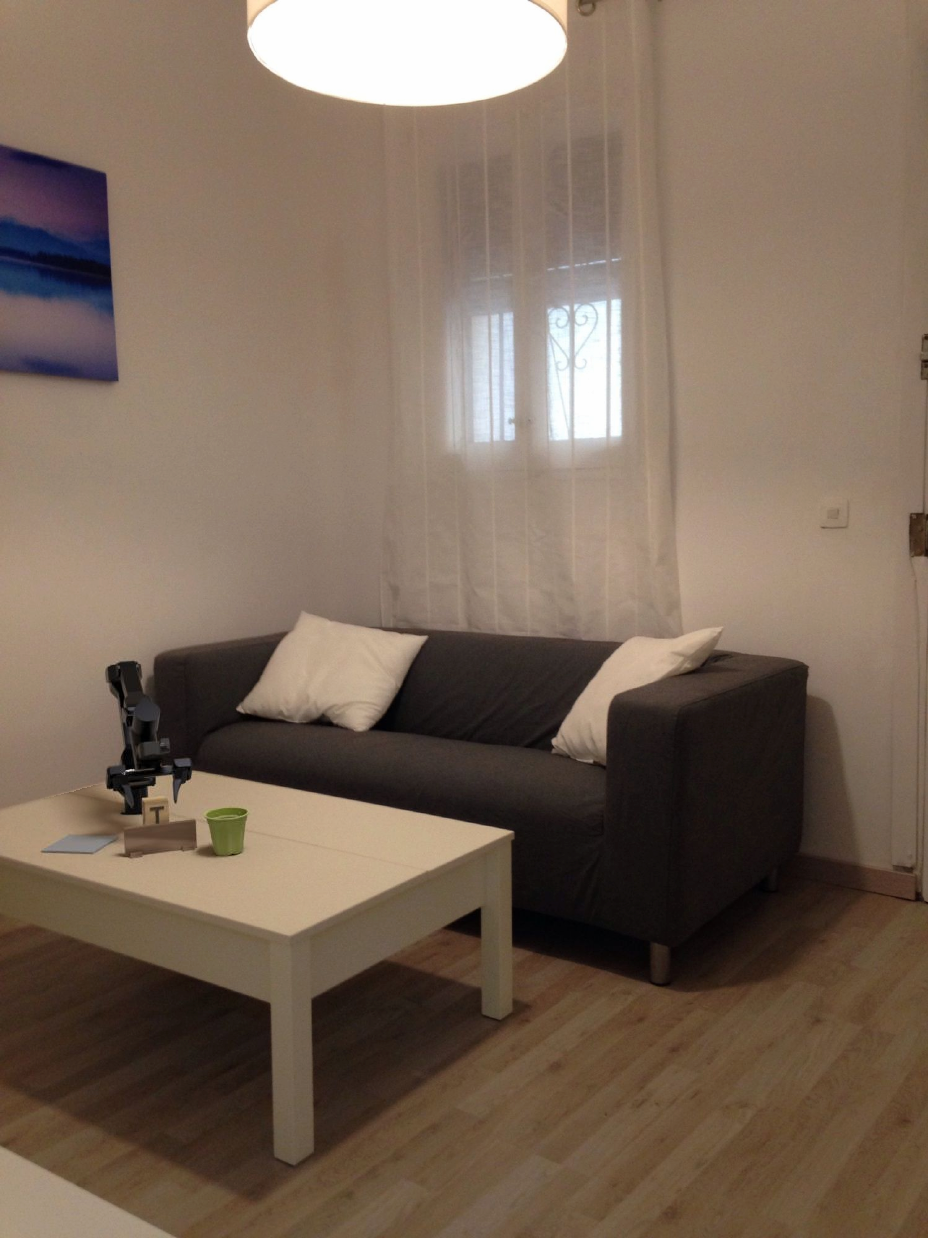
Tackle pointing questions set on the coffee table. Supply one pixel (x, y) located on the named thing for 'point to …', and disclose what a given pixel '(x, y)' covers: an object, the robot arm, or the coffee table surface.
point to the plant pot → (227, 829)
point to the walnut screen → (160, 838)
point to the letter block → (155, 810)
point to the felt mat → (80, 844)
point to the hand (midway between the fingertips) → (154, 805)
